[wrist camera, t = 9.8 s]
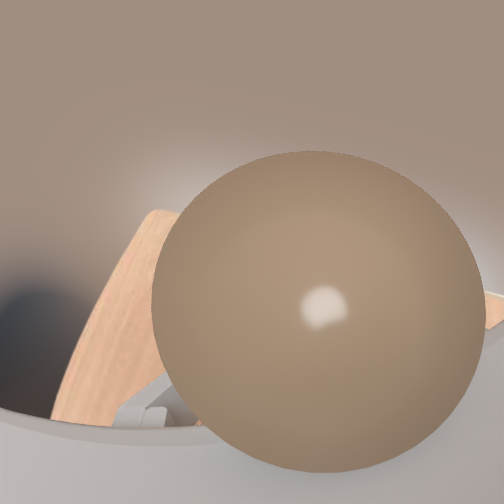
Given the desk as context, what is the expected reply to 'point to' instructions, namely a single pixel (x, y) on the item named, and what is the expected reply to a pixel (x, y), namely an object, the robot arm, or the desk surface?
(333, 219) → the lidded white canister
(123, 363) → the desk surface
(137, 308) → the desk surface
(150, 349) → the desk surface
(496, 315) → the desk surface
